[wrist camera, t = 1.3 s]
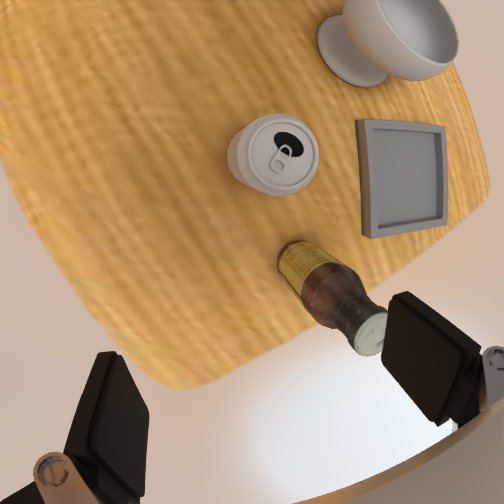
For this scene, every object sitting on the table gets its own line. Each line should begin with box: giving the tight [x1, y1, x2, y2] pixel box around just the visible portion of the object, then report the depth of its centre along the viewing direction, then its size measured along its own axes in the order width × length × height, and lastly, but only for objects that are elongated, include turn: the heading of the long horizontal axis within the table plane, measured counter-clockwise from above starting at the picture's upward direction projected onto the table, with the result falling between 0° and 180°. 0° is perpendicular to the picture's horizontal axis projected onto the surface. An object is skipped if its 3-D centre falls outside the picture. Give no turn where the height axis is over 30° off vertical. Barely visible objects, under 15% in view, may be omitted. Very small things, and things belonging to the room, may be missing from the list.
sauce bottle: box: [278, 241, 388, 356], centre depth 30 cm, size 6×6×20 cm
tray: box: [355, 119, 448, 239], centre depth 37 cm, size 16×16×2 cm
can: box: [227, 113, 319, 196], centre depth 28 cm, size 8×8×12 cm
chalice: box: [317, 0, 459, 88], centre depth 24 cm, size 14×14×15 cm
